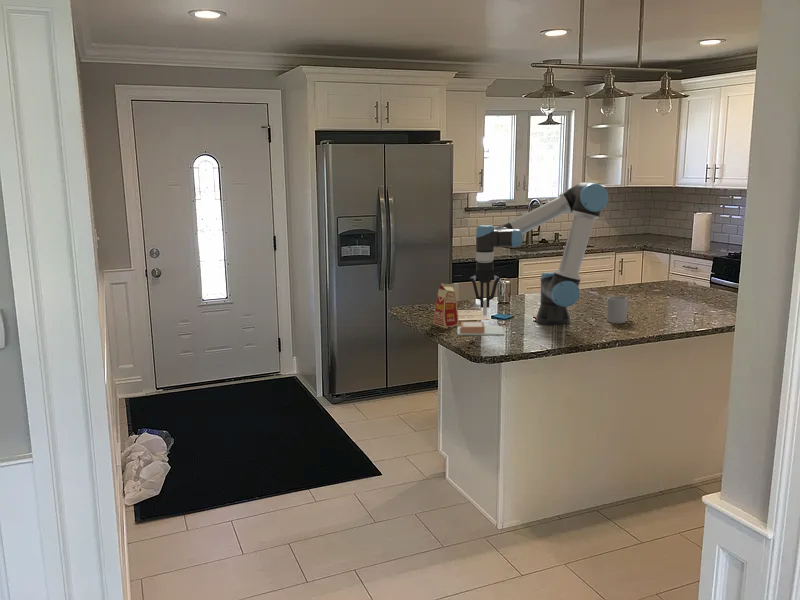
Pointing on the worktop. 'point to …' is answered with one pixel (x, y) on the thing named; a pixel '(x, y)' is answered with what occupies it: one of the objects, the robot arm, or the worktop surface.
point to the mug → (617, 309)
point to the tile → (472, 327)
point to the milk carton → (446, 307)
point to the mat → (488, 331)
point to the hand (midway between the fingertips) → (484, 314)
